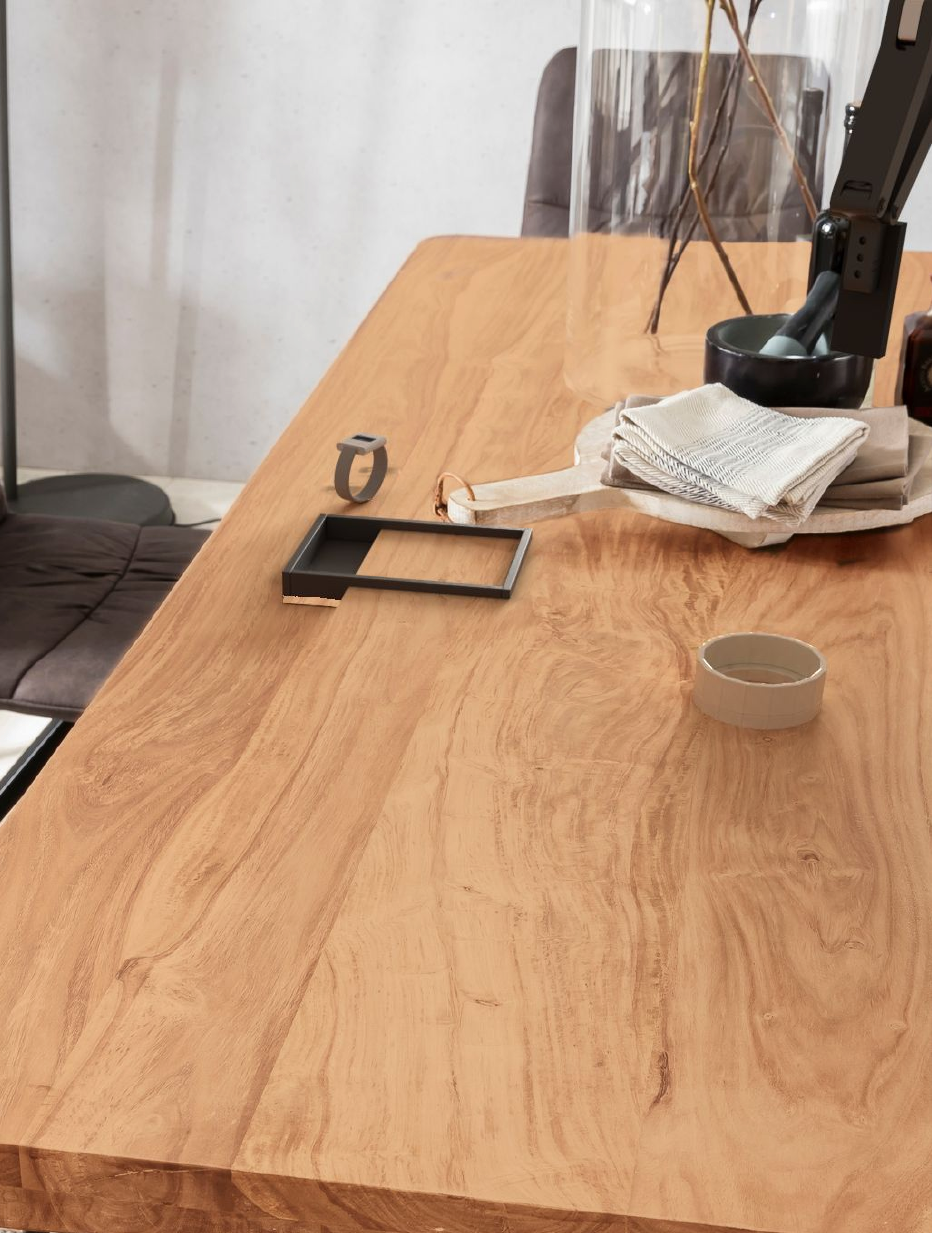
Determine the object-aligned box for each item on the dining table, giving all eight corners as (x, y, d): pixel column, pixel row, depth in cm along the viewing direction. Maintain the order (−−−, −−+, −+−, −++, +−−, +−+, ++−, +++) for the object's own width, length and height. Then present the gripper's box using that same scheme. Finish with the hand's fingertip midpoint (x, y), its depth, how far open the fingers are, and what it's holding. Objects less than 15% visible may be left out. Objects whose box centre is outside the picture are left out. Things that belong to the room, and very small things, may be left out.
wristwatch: (355, 515, 137) (355, 453, 134) (326, 508, 138) (325, 447, 135) (396, 492, 141) (396, 431, 138) (367, 485, 142) (367, 426, 140)
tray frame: (531, 559, 129) (533, 528, 128) (508, 622, 119) (510, 590, 118) (320, 543, 132) (320, 513, 131) (282, 603, 123) (281, 571, 121)
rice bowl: (816, 703, 108) (826, 637, 106) (816, 760, 102) (827, 692, 100) (693, 692, 110) (701, 627, 108) (686, 747, 104) (694, 680, 101)
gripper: (1016, -147, 91) (941, 268, 103) (797, -122, 75) (738, 366, 87) (1162, -144, 87) (1066, 288, 99) (963, -117, 71) (878, 393, 83)
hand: (912, 325), depth 93 cm, fingers open, 13 cm apart
